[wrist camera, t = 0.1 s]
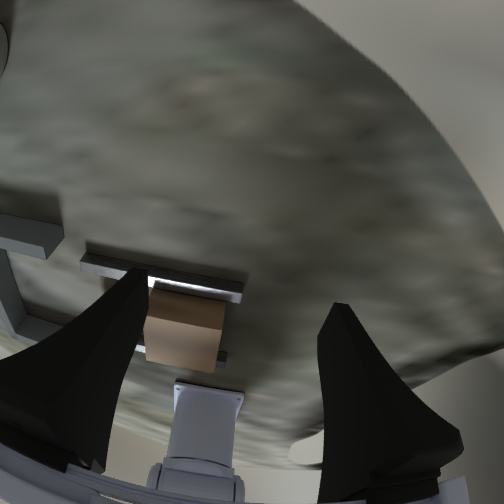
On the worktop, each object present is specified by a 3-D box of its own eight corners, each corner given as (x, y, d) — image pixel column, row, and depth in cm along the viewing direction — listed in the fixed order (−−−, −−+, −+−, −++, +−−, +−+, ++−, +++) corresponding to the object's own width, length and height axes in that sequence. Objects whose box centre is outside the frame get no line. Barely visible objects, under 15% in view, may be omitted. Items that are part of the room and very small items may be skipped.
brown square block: (217, 347, 29) (213, 373, 26) (154, 334, 28) (146, 360, 26) (226, 302, 25) (222, 330, 23) (152, 288, 25) (142, 314, 23)
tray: (87, 339, 30) (77, 361, 28) (22, 318, 30) (11, 337, 27) (62, 225, 22) (43, 247, 20) (-13, 211, 22) (-32, 228, 19)
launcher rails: (225, 358, 30) (224, 368, 29) (100, 331, 29) (96, 340, 28) (243, 283, 25) (242, 293, 24) (85, 252, 24) (79, 261, 23)
